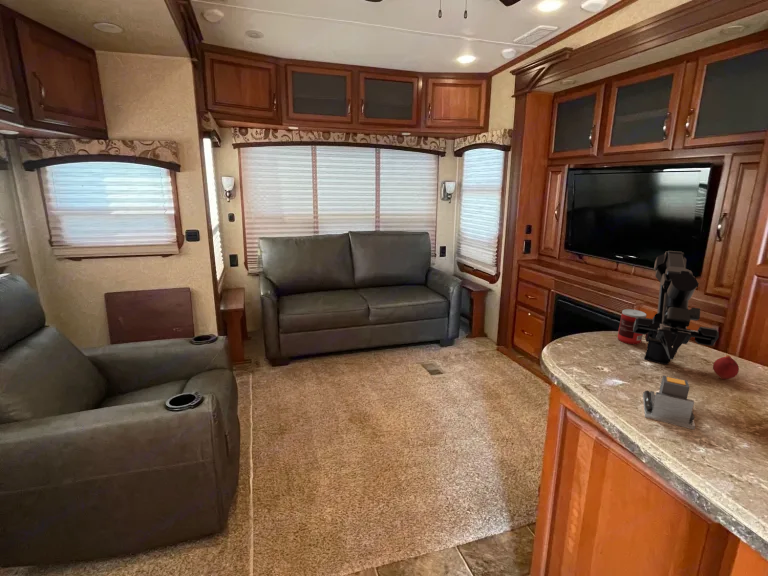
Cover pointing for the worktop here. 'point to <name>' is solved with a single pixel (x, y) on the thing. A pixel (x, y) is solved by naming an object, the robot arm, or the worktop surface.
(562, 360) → the worktop surface
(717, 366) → the onion
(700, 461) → the worktop surface
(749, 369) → the worktop surface
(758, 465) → the worktop surface
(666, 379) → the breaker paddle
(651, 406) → the grey handled base plate
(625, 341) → the canned food
